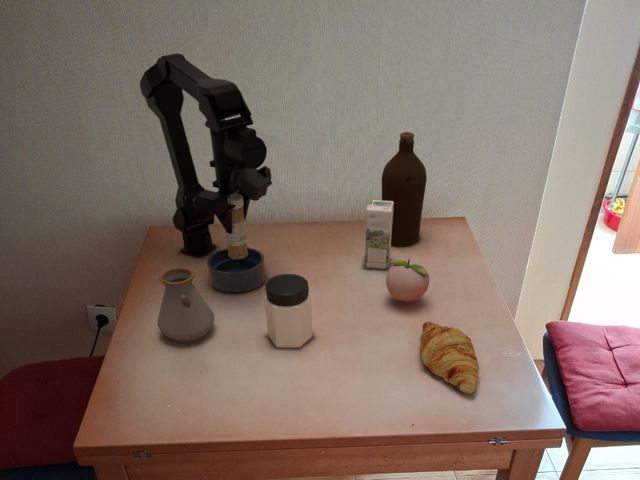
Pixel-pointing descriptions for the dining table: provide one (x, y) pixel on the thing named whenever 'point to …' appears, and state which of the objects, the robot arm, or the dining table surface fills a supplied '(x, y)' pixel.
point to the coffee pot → (183, 307)
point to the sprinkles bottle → (237, 230)
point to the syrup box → (378, 234)
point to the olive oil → (405, 191)
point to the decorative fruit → (407, 280)
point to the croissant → (450, 356)
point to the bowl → (236, 271)
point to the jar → (288, 310)
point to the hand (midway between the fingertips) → (236, 229)
